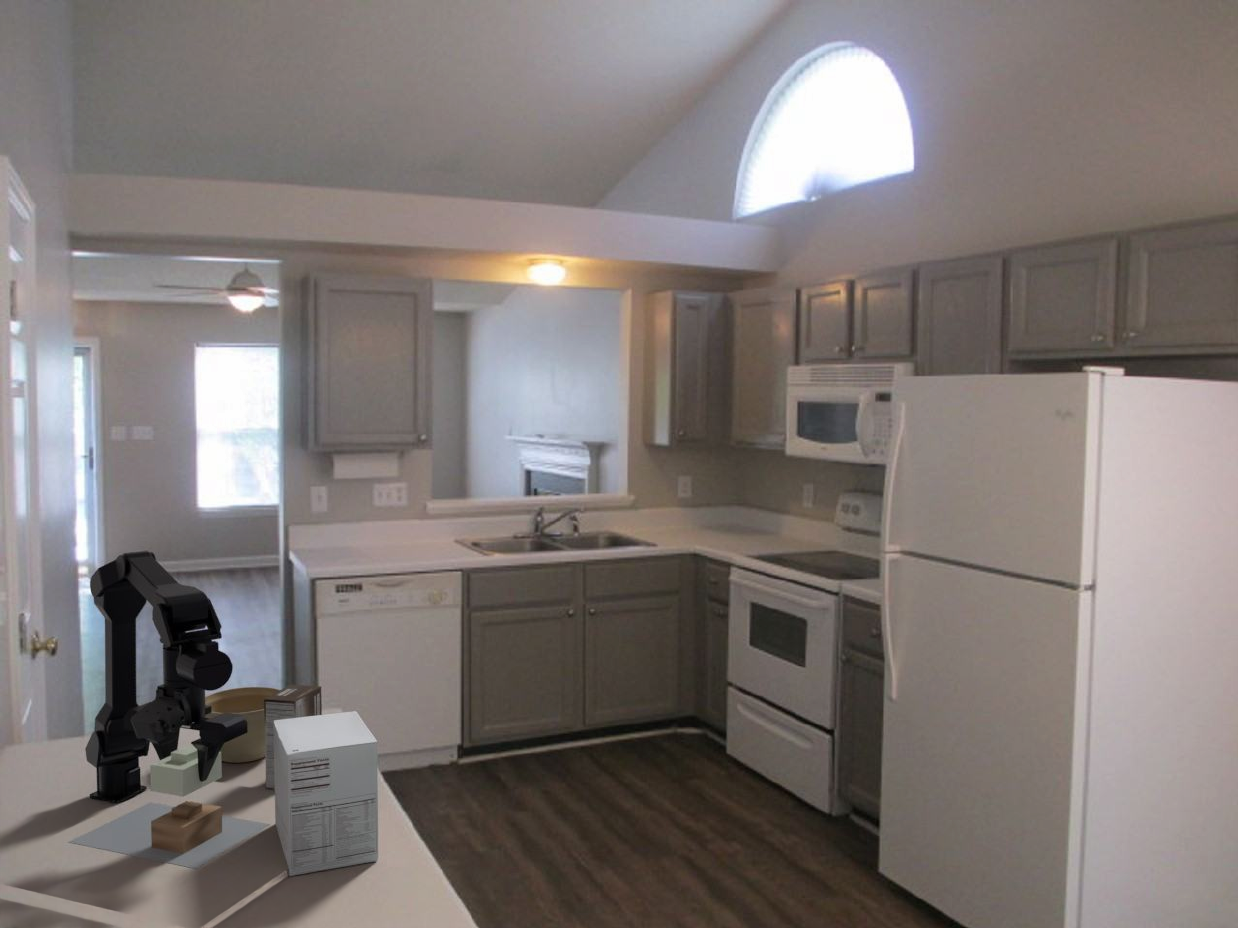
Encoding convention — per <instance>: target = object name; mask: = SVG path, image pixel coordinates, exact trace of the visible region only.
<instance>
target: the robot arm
mask: <svg viewBox="0 0 1238 928" xmlns="http://www.w3.org/2000/svg"><path fill="white" fill-rule="evenodd" d="M89 589H90V594H91V596H92V597H93V604H94V606H95V607H96V608H97V609H98V611H99V612H100V614H101V615H102V616H103V617H104V666H105V669H104V670H105V672H104V675H105V676H104V677H105V679H104V682H105V700H104V701H105V702H104V704H103V705H102V707H101V708H100V710H99V712H98V713H97V715H96V716H95V718H94V726H93V727H94V728H93V730H94V731H93V732H92V733H91V735H90V737H89V740H88V742H87V744H86V746H85V750H84V751H85V757H86V762H87V763H89V764H90V765H92V766H93V767H94V768H96V790H95V791H94V792H91V793H89V798H92V799H96V800H103V801H106V802H111V803H120V802H123V801H124V800H127V799H129V798H131V797H133V796H135V795H137V794H139V793H141V792H144V791H146V790H147V789H148V788H147V785H142V783H141V779H142V778H141V767H140V762H139V761H140V758H141V757H147V756H149V751H150V745H152V746H153V748H154V750H155V753H156V754H157V757H158V759H159V761H160V760H162V759H164V758H167V757H169V756H171V752H173V751H176V750H178V749H179V748H178V747H179V740H180V739H179V738H180V733H181V731H180V730H181V729H186V730H187V729H188V730H192V731H199V737H200V738H197V739H195V740H192V741H191V742H190V744H191V745H192V747H195V748H196V749H197V753H198V773H199V779H200V781H201V782H203V781H205V780H207V778H208V776H209V774H210V771H211V769H212V767H213V765H214V762H215V760H216V758H217V756H218V754H219V752H220V750H221V748H222V746H223V745H224V743H226V742H228V741H230V740H232V739H234V738H237V737H239V736H241V735H243V734H245V733H248V729H247V719H246V718H245V717H244V716H243V715H240V714H232V713H225V712H224V713H222V714H219V715H217V716H215V717H212V718H205V715H207V714H209V713H212V710H211V706H207V705H205V696H206V691H207V692H208V691H210V692H211V691H212V692H213V691H216V690H218V689H221V688H222V687H224V686H225V685H226V684H227V683H228V681H229V680H230V678H232V677H231V676H232V675H233V668H234V667H233V662H232V660H231V658H230V657H229V655H228V654H227V653H225V651H224V652H223V651H222V650H219V642H218V641H215V640H220V639H221V640H222V637H223V636H222V632H221V629H222V624H221V622H220V618H218V615H217V613H216V610H215V607H214V605H213V603H212V601H211V599H210V598H209V597H208V595H207V594H206V592H204V591H203V590H200V589H199V588H197V587H195V586H191V585H185V584H181V583H179V582H178V581H177V580H176V579H175V578H174V577H173V576H172V575H171V574H170V573H169V572H168V571H167V570H166V569H165V568H164V567H163V565H161V564H160V563H159V562H158V561H157V558H156V555H155V553H154V552H152V551H149V550H141V551H132V552H124V553H122V554H119V555H118V556H117V557H116V558H115V560H112V561H110V562H108V563H105V564H104V565H102V566H100V567H98V568H97V570H95V572H94V573H93V574H92V575H91V577H90V580H89ZM147 602H148V603H149V604H150V605H151V607H152V615H151V616H152V618H151V619H152V621H153V625H154V626H155V629H156V631H157V633H158V635H159V636H160V638H159V643H161V644H162V668H163V669H162V671H163V672H162V673H163V683H162V684H160V685H158V686H156V687H157V688H156V690H155V697H154V700H152V701H149V702H145V703H143V704H141V705H139V704H138V702H137V701H138V700H137V618H138V617H139V615H140V613H141V612H142V610H143V609H144V607H145V605H146V604H147Z"/></svg>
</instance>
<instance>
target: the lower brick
mask: <svg viewBox="0 0 1238 928" xmlns="http://www.w3.org/2000/svg"><path fill="white" fill-rule="evenodd" d="M222 812H223V808H222V806H220V805H215V804H207V803H202V802H198V801H197V802H196V801H191V800H190V801H187V800H186V801H184V802H182V803H180V804H177V805H176V806H174V808H172V811H170V812H168V813H166V814H164V815H163V816H161V817H159V818H157V819H155V820H153V821H151V840H152V848H157V849H162V850H167V851H171V852H176V853H181V854H185V853H186V852H188V851H190V850H192V849H193V848H195V847H197V846H199V845H200V844H202V843H204V842H206V841H208V840H209V839H211V838H213V837H215V836H216V835H218V834H220V833H222V815H223V813H222Z"/></svg>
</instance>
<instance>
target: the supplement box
mask: <svg viewBox="0 0 1238 928" xmlns="http://www.w3.org/2000/svg"><path fill="white" fill-rule="evenodd" d="M273 727H274V780H275V789H274V813H275V814H274V818H275V820H274V823H275V826H276V830H277V834H278V837H279V840H280V844H281V847H282V851H283V854H284V858H285V861H286V865H287V869H286V870H287V874H288V877H292V876H297V875H304V874H310V873H314V872H320V871H321V872H322V871H327V870H328V871H329V870H333V869H340V868H345V867H351V866H356V865H361V864H367V863H368V864H369V863H373V862H377V861H378V860H379V790H378V789H379V785H378V781H379V780H378V776H379V775H378V774H379V773H378V771H379V770H378V768H379V767H378V766H379V765H378V747H379V746H378V741H377V739H376V738H375V736H374V734H373V733H372V732H371V731H370V729H369V728H368V726H367V725H366V723H365V722H364V720H363V719H362V718H361V716H360V715H359V714H358V712H357V711H355V710H354V711H346V712H338V713H337V712H335V713H329V714H327V713H326V714H322V715H317V716H308V717H299V718H291V719H282V720H274V721H273Z"/></svg>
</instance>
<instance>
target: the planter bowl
mask: <svg viewBox="0 0 1238 928" xmlns="http://www.w3.org/2000/svg"><path fill="white" fill-rule="evenodd" d="M280 690H281V689H279V688H275V687H268V686H267V687H266V686H265V687H264V686H245V687H244V686H241V687H233V688H227V689H224V690H219V691H216V692H212V693H210V694H207V695H205V705H207V706H211V710H212V713H209V714H207V715H205V718H212V717H215V716H217V715H219V714H222V713H224V712H225V713H232V714H240V715H243V716H244V717H245V718H246V719H247V729H248V733H245V734H243V735H241V736H239V737H237V738H234V739H232V740H230V741H228V742H226V743H224V745H223V746H222V748H221V750H220V752H221V762H225V763H236V764H237V763H248V762H254V761H257V760H261V759H262V758H265V715H264V699H265V698H267V697H269V696H271V695H272V694H274V693H276V692H278V691H280Z"/></svg>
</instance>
